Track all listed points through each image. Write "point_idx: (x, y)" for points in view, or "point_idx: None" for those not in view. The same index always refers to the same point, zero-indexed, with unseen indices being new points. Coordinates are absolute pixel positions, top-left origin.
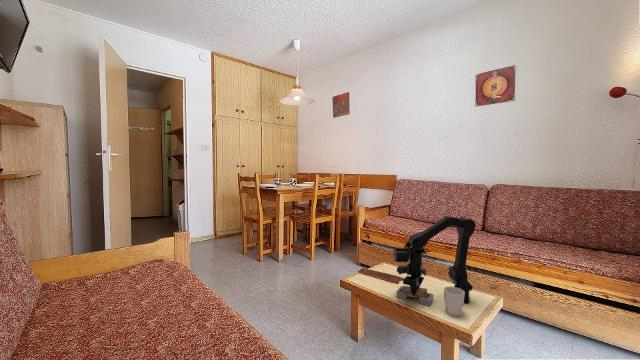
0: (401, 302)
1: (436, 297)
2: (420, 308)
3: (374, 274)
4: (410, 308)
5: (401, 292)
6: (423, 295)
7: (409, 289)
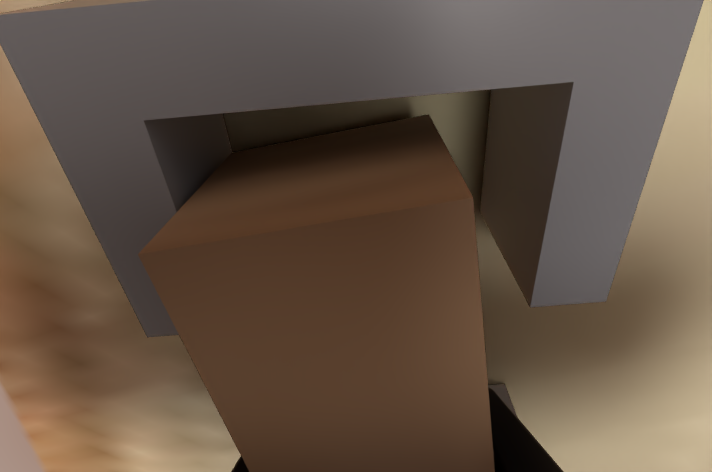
0: (10, 212)
1: (601, 467)
2: (145, 444)
3: None
4: (3, 377)
5: (91, 215)
6: None
7: (260, 457)
